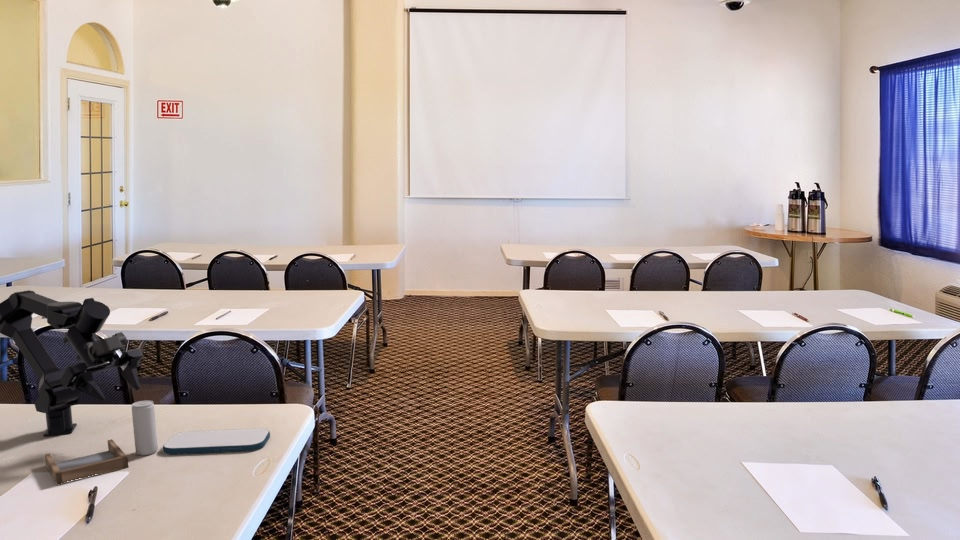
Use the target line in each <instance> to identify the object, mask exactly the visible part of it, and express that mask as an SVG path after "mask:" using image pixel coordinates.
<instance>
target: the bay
mask: <svg viewBox="0 0 960 540" xmlns="http://www.w3.org/2000/svg"><path fill="white" fill-rule="evenodd" d="M107 448H108V450H106V451H102V452H97V453H94V454H89V455H85V456H84V455H83V456H80V457H76V458H72V459H67V460H64V461H63V460H62V461H59V462H55V460H54V458H53V456H52V455H51V453H45V454H44V459H45V462H44V463H45V466H46V468H47V470H48V472H49V473H50V475H51V476H53V477H52V478H54V479H53V480H54V482H55V483H57V484H60V485H62V484H61V483H64V482H67V481H71V480H75V479H79V478H83V479H85V478H84V477H87V478H89V477H88V476H91V477H93V476H92V475H95V474H99V475H102V474H101V473H103V474H106V473H111V472H114V471H119V470H122V469H126V468H129V459H128V455H127V454H126V453H125V452H124V451H123V450H122V448H120V447H119V445H118V444H117V443H116V442H115V441H114V440H113V439H108V440H107ZM95 476H96V475H95ZM79 480H80V479H79ZM75 481H76V480H75ZM57 484H56V485H57ZM64 484H65V483H64Z"/></svg>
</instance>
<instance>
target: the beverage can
mask: <svg viewBox="0 0 960 540" xmlns="http://www.w3.org/2000/svg"><path fill="white" fill-rule="evenodd" d="M131 417H132V426H133V428H132V429H133V436H134V446H135V447H134V448H135V453H136V454H137V455H138V456H142V457H146V456H150V455H153V454H155V453H156V452H157V451H158V450H159V447H158V446H159V445H158V444H159V443H158V435H157V433H158V432H157V422H156V421H157V420H156V409H155V404H154V400H149V399H146V400H139V401H136V402H133V403H131Z"/></svg>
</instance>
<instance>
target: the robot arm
mask: <svg viewBox="0 0 960 540" xmlns="http://www.w3.org/2000/svg"><path fill="white" fill-rule="evenodd" d="M33 314H35V315H37V316H40V317H41V318H42V317H43V318H44V319H46V322H47V324H48V325H49V326H51V327H53V328H54V329H55V330H61V329H65V328H68V330H67V331H65V332H64V337H63V339H62V340H63V341H62V342H63V344H64V345H65V344H70V346H71V347H72V348H73V349H74V351H75V352H76V353H77V356H76V357H75V358H76V360H77V361H78V362H79V363H74V364H70V365H67V367H66V368H65V369H60V368H59V367H58V366H57V364H56V363H55V360H53V358H52V357H51V355H50V354H49V352H48V351H47V349H46V347H45V346H44V345H43V343H42V342H41V340H40V338H39V337H38V336H37V335H36V333H35V331H34V330H33V328H32V322H33ZM110 314H111V309H110V308H109V305H106V304H105V303H103V302H100V301H98V300H95V299H94V297H89V298H85V299H84V300H83V301H82V303H81V302H79V301H58V300H55V299H52V298H50V297H47V296H44V295H42V294H38V293H36V292H35V291H33V290H29V289H27V290H22V291H21V290H20V291H16V292H15V291H14V292H13V293H11V294H10V295H9V296H8V297H7V298H5V299H4V300H2V301H1V302H0V334H1V335H3V336H6V337H8V338H11V339H12V340H13V342H14V344H15V345H16V347H17V348H18V350H19V351H20V353H21V354H22V355H23V357H24V359H25V360H26V362H27V364H28V365H29V366H30V368H31V369H32V371H33V373H34V375H36V377H37V379H38V380H39V384H38V394H39V395H38V396H37V398H36V400H35V401H34V403H33V404H34V407H35V411H36V412H37V413H42V414H45V418H46V419H45V421H46V430H45V431H44V433H43V434H42V435H43V437H47V436H55V435H65V434H71V433H73V432H74V430H75V429H76V427H77V425H78V424H77V423H76V422H75V423H73V415H72V407H73V406H75V405H80V400H81V394H82V393H83V394H86V395H88V396H90V397H92V398H94V399H96V400H98V401H100V402H105V400H106V397H105V394H104V393H103V391H102V390H101V389H100V387H99V386H98V385H97V383H96V381H95V380H94V377H93V375H94V374H95V375H96V374H99V373H101V372H102V373H103V372H105V371H109V370H112V369H113V370H114V369H116V368H117V370H118V371H119V372H121V374H120V375H121V376H122V378H123V379H124V380H126V382H127V383H129V385H130V386H131V387H132V388H133V389H134V390H136V391H138V392H139V391H140V389H141V387H140V381H139V380H140V379H139V377H138V370H137V367H138V365H139V363H140V362H141V361H142V359H143V357H144V356H145V355H144V354H143V353H142V351H141V350H140V348H139V349H138V348H133V349H130V350H126V351H123V352H122V354H121V355H120V357H119V358H116V359H113V358H114V357H116V356H117V354H118V353H117V351H119V350H120V349H121V350H122V349H123V348H124V346H125V345H127V344H128V339H127V336H125V334H124V333H123V332H122V331H120V332H117V333H116V332H115V334H112V336H109V337H105V338H102V339H100V338H99V336H98V335H97V334H96V333H99V332H100V331H101V329H102V328H103V327H104V324H105V323H106V321H107V319H109V316H110ZM80 361H81V362H80Z"/></svg>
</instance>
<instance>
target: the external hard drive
mask: <svg viewBox="0 0 960 540" xmlns="http://www.w3.org/2000/svg"><path fill="white" fill-rule="evenodd" d="M270 438H271V432H270V430H269V429H268V428H259V427H258V428H240V429H239V428H235V429H215V430H214V429H211V430H208V429H207V430H188V431H182V432H178V433H175V434H173V435H172V436H171V437H169V438H168V440H167V441H166V442H164V444H163V446H162V451H163V453H164V454H165V455H173V456H174V455H176V456H177V455H197V454H217V453H221V454H222V453H240V452H241V453H243V452H254V451H258V450H261V449H263V448H264V447H265V446H266V444H267V443H268V442H269V439H270Z"/></svg>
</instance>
